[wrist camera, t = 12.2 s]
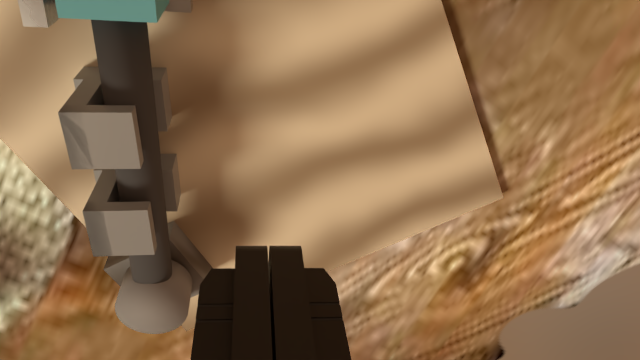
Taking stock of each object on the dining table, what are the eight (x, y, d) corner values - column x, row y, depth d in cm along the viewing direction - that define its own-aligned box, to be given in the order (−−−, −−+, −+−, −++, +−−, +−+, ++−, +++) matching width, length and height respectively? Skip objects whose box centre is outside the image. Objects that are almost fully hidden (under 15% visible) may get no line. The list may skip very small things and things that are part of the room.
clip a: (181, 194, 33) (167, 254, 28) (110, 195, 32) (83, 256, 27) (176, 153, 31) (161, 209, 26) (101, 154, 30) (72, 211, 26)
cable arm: (194, 299, 35) (189, 340, 32) (129, 300, 35) (117, 342, 32) (164, -116, 22) (150, -111, 19) (58, -125, 21) (25, -122, 18)
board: (500, 193, 36) (515, 214, 34) (187, 326, 40) (183, 352, 38) (328, -349, 20) (336, -372, 18) (-165, -42, 24) (-205, -33, 22)
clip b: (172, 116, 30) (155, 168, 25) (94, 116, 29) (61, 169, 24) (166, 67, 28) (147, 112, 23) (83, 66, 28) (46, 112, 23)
